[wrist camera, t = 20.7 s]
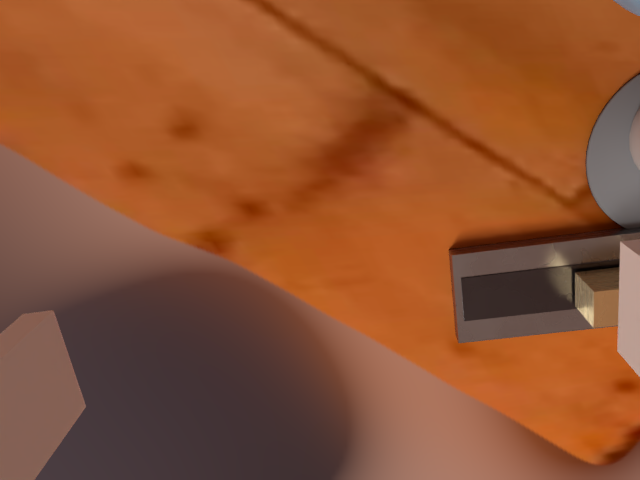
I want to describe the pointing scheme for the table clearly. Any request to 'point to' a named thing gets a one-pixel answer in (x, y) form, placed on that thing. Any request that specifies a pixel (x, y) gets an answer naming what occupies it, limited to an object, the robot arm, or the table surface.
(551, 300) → the lock plate
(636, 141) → the cup
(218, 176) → the table surface
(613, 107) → the coaster
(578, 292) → the brass stepped block
